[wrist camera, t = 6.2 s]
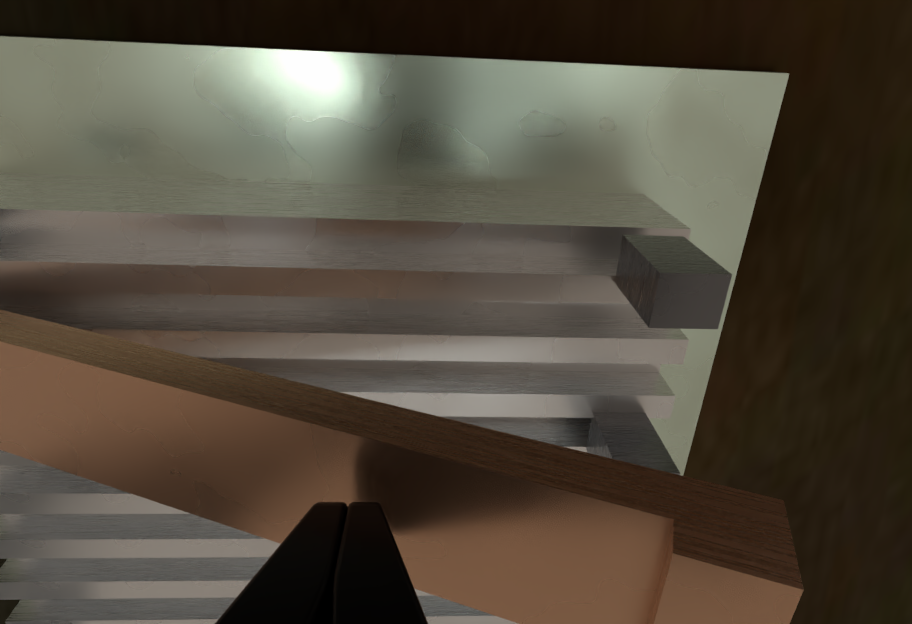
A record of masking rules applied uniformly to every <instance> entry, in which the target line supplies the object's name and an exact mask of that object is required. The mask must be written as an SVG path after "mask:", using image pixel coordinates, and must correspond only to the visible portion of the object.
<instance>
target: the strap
mask: <svg viewBox="0 0 912 624" xmlns="http://www.w3.org/2000/svg"><path fill="white" fill-rule="evenodd" d="M0 450H2V451H5V452H8V453H11V454H14V455H17V456H20V457H23V458H26V459H29V460H32V461H35V462H38V463H41V464H44V465H47V466H50V467H53V468H56V469H59V470H62V471H65V472H68V473H71V474H74V475H77V476H80V477H83V478H86V479H89V480H92V481H95V482H98V483H101V484H104V485H107V486H110V487H113V488H116V489H119V490H122V491H125V492H128V493H131V494H134V495H137V496H140V497H143V498H146V499H149V500H151V501H154V502H157V503H160V504H163V505H166V506H169V507H172V508H175V509H178V510H181V511H184V512H187V513H190V514H193V515H196V516H199V517H202V518H205V519H208V520H211V521H214V522H217V523H220V524H223V525H226V526H229V527H232V528H235V529H238V530H241V531H244V532H247V533H250V534H253V535H256V536H259V537H262V538H265V539H268V540H271V541H274V542H277V543H280V544H281V543H282V542H283V541H284V539H285V538H286V537H287V536H288V535H289V533H290V532H291V531H292V530H293V529H294V527H295V526H296V525H297V524H298V523H299V521H300V520H301V519H302V518H303V517H304V515H305V514H306V513H307V512H308V511H309V509H310V508H311V507H312V506H313V505H314V504H315V503H317V502H344V503H346V505H347V506H348V505H349V504H350V503H351V502H378V503H379V504H380V505H381V506H382V509H383V511H384V514H385V516H386V519H387V521H388V524H389V526H390V529H391V531H392V534H393V536H394V539H395V541H396V544H397V546H398V549H399V551H400V554H401V556H402V559H403V561H404V564H405V566H406V569H407V572H408V574H409V577H410V579H411V582H412V584H413V587H414V589H417V590H420V591H423V592H426V593H429V594H432V595H435V596H438V597H441V598H444V599H447V600H450V601H453V602H456V603H459V604H462V605H465V606H468V607H471V608H474V609H477V610H480V611H483V612H486V613H488V614H491V615H494V616H497V617H500V618H503V619H506V620H509V621H512V622H515V623H518V624H789V623H790V621H791V619H792V616H793V614H794V611H795V609H796V607H797V604H798V602H799V599H800V597H801V595H802V592H803V586H802V581H801V577H800V572H799V568H798V563H797V559H796V554H795V550H794V545H793V541H792V536H791V532H790V527H789V523H788V518H787V514H786V509H785V505H784V500H779V499H775V498H771V497H767V496H763V495H759V494H755V493H751V492H747V491H743V490H738V489H734V488H730V487H726V486H722V485H718V484H714V483H710V482H706V481H702V480H697V479H693V478H689V477H685V476H681V475H677V474H673V473H669V472H665V471H661V470H656V469H652V468H648V467H644V466H640V465H636V464H632V463H628V462H624V461H620V460H615V459H611V458H607V457H603V456H599V455H595V454H591V453H587V452H583V451H579V450H574V449H570V448H566V447H562V446H558V445H554V444H550V443H546V442H542V441H538V440H533V439H529V438H525V437H521V436H517V435H513V434H509V433H505V432H501V431H496V430H492V429H488V428H484V427H480V426H476V425H472V424H468V423H464V422H460V421H455V420H451V419H447V418H443V417H439V416H435V415H431V414H427V413H423V412H419V411H414V410H410V409H406V408H402V407H398V406H394V405H390V404H386V403H382V402H378V401H373V400H369V399H365V398H361V397H357V396H353V395H349V394H345V393H341V392H337V391H332V390H328V389H324V388H320V387H316V386H312V385H308V384H304V383H300V382H296V381H291V380H287V379H283V378H279V377H275V376H271V375H267V374H263V373H259V372H255V371H250V370H246V369H242V368H238V367H234V366H230V365H226V364H222V363H218V362H214V361H209V360H205V359H201V358H197V357H193V356H189V355H185V354H181V353H177V352H173V351H168V350H164V349H160V348H156V347H152V346H148V345H144V344H140V343H136V342H132V341H127V340H123V339H119V338H115V337H111V336H107V335H103V334H99V333H95V332H91V331H86V330H82V329H78V328H74V327H70V326H66V325H62V324H58V323H54V322H49V321H45V320H41V319H37V318H33V317H29V316H25V315H21V314H17V313H13V312H8V311H4V310H0Z"/></svg>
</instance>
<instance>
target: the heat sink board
mask: <svg viewBox="0 0 912 624" xmlns="http://www.w3.org/2000/svg"><path fill="white" fill-rule="evenodd" d="M788 77H789V73H781V72H767V71H746V70H725V69H703V68H682V67H661V66H640V65H619V64H597V63H576V62H555V61H534V60H513V59H491V58H470V57H449V56H428V55H407V54H385V53H364V52H343V51H322V50H301V49H279V48H258V47H237V46H216V45H195V44H173V43H152V42H131V41H110V40H89V39H67V38H46V37H25V36H4V35H0V310H4V311H8V312H13V313H17V314H21V315H25V316H29V317H33V318H37V319H41V320H45V321H49V322H54V323H58V324H62V325H66V326H70V327H74V328H78V329H82V330H86V331H91V332H95V333H99V334H103V335H107V336H111V337H115V338H119V339H123V340H127V341H132V342H136V343H140V344H144V345H148V346H152V347H156V348H160V349H164V350H168V351H173V352H177V353H181V354H185V355H189V356H193V357H197V358H201V359H205V360H209V361H214V362H218V363H222V364H226V365H230V366H234V367H238V368H242V369H246V370H250V371H255V372H259V373H263V374H267V375H271V376H275V377H279V378H283V379H287V380H291V381H296V382H300V383H304V384H308V385H312V386H316V387H320V388H324V389H328V390H332V391H337V392H341V393H345V394H349V395H353V396H357V397H361V398H365V399H369V400H373V401H378V402H382V403H386V404H390V405H394V406H398V407H402V408H406V409H410V410H414V411H419V412H423V413H427V414H431V415H435V416H439V417H443V418H447V419H451V420H455V421H460V422H464V423H468V424H472V425H476V426H480V427H484V428H488V429H492V430H496V431H501V432H505V433H509V434H513V435H517V436H521V437H525V438H529V439H533V440H538V441H542V442H546V443H550V444H554V445H558V446H562V447H566V448H570V449H574V450H579V451H583V452H587V453H591V454H595V455H599V456H603V457H607V458H611V459H615V460H620V461H624V462H628V463H632V464H636V465H640V466H644V467H648V468H652V469H656V470H661V471H665V472H669V473H673V474H677V475H681V476H683V474H684V470H685V466H686V463H687V459H688V455H689V451H690V448H691V444H692V440H693V436H694V432H695V429H696V425H697V421H698V417H699V414H700V410H701V406H702V402H703V398H704V395H705V391H706V387H707V383H708V379H709V376H710V372H711V368H712V364H713V361H714V357H715V353H716V349H717V345H718V342H719V338H720V334H721V330H722V327H723V323H724V319H725V315H726V311H727V308H728V304H729V300H730V296H731V292H732V289H733V285H734V281H735V277H736V274H737V270H738V266H739V262H740V258H741V255H742V251H743V247H744V243H745V240H746V236H747V232H748V228H749V224H750V221H751V217H752V213H753V209H754V205H755V202H756V198H757V194H758V190H759V187H760V183H761V179H762V175H763V171H764V168H765V164H766V160H767V156H768V153H769V149H770V145H771V141H772V137H773V134H774V130H775V126H776V122H777V118H778V115H779V111H780V107H781V103H782V100H783V96H784V92H785V88H786V84H787V81H788ZM279 546H280V543H277V542H274V541H271V540H268V539H265V538H262V537H259V536H256V535H253V534H250V533H247V532H244V531H241V530H238V529H235V528H232V527H229V526H226V525H223V524H220V523H217V522H214V521H211V520H208V519H205V518H202V517H199V516H196V515H193V514H190V513H187V512H184V511H181V510H178V509H175V508H172V507H169V506H166V505H163V504H160V503H157V502H154V501H151V500H149V499H146V498H143V497H140V496H137V495H134V494H131V493H128V492H125V491H122V490H119V489H116V488H113V487H110V486H107V485H104V484H101V483H98V482H95V481H92V480H89V479H86V478H83V477H80V476H77V475H74V474H71V473H68V472H65V471H62V470H59V469H56V468H53V467H50V466H47V465H44V464H41V463H38V462H35V461H32V460H29V459H26V458H23V457H20V456H17V455H14V454H11V453H8V452H5V451H2V450H0V559H6V562H5V563H4V564H3V565H2V567H1V568H0V600H18V599H21V600H20V601H19V603H18V604H17V605H16V607H15V608H14V610H13V611H12V613H11V614H10V615H9V617H8V618H7V620H6V621H5V623H6V624H215V623H216V622H217V620H218V619H219V618H220V617H221V615H222V614H223V613H224V612H225V611H226V609H227V608H228V607H229V606H230V605H231V603H232V602H233V601H234V600H235V599H236V597H237V596H238V595H239V594H240V593H241V591H242V590H243V589H244V588H245V587H246V585H247V584H248V583H249V582H250V581H251V579H252V578H253V577H254V576H255V574H256V573H257V572H258V571H259V570H260V568H261V567H262V566H263V565H264V564H265V562H266V561H267V560H268V559H269V558H270V556H271V555H272V554H273V553H274V552H275V550H276V549H277V548H278V547H279ZM415 592H416V594H417V597H418V599H419V602H420V604H421V607H422V609H423V612H424V614H425V617H426V619H427V622H428V624H518V623H515V622H512V621H509V620H506V619H503V618H500V617H497V616H494V615H491V614H488V613H486V612H483V611H480V610H477V609H474V608H471V607H468V606H465V605H462V604H459V603H456V602H453V601H450V600H447V599H444V598H441V597H438V596H435V595H432V594H429V593H426V592H423V591H420V590H417V589H415Z"/></svg>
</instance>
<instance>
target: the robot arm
mask: <svg viewBox="0 0 912 624" xmlns="http://www.w3.org/2000/svg"><path fill="white" fill-rule="evenodd" d="M215 624H428V622H427V619H426V617H425V614H424V612H423V609H422V607H421V604H420V602H419V599H418V597H417V594H416V592H415V589H414V587H413V584H412V582H411V579H410V577H409V574H408V572H407V569H406V566H405V564H404V561H403V559H402V556H401V554H400V551H399V549H398V546H397V544H396V541H395V539H394V536H393V534H392V531H391V529H390V526H389V524H388V521H387V519H386V516H385V514H384V511H383V509H382V506H381V505H380V504H379V503H378V502H351V503H350V504H349V505H348V506H347V505H346V503H344V502H317V503H315V504H314V505H313V506H312V507H311V508H310V509H309V511H308V512H307V513H306V514H305V515H304V517H303V518H302V519H301V520H300V521H299V523H298V524H297V525H296V526H295V527H294V529H293V530H292V531H291V532H290V533H289V535H288V536H287V537H286V538H285V539H284V541H283V542H282V543H281V544H280V546H279V547H278V548H277V549H276V550H275V552H274V553H273V554H272V555H271V556H270V558H269V559H268V560H267V561H266V562H265V564H264V565H263V566H262V567H261V568H260V570H259V571H258V572H257V573H256V574H255V576H254V577H253V578H252V579H251V581H250V582H249V583H248V584H247V585H246V587H245V588H244V589H243V590H242V591H241V593H240V594H239V595H238V596H237V597H236V599H235V600H234V601H233V602H232V603H231V605H230V606H229V607H228V608H227V609H226V611H225V612H224V613H223V614H222V615H221V617H220V618H219V619H218V620H217V622H216V623H215Z"/></svg>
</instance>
